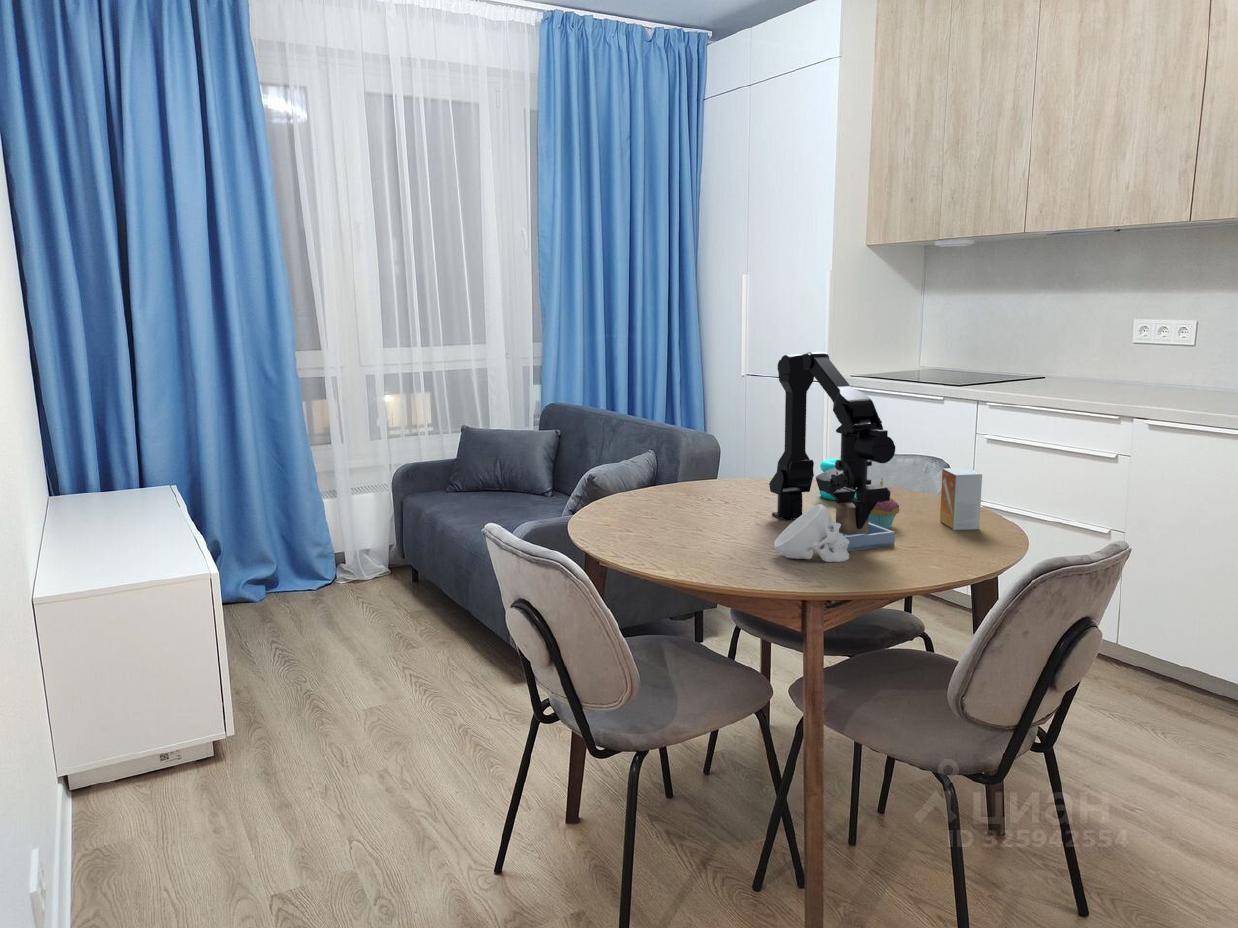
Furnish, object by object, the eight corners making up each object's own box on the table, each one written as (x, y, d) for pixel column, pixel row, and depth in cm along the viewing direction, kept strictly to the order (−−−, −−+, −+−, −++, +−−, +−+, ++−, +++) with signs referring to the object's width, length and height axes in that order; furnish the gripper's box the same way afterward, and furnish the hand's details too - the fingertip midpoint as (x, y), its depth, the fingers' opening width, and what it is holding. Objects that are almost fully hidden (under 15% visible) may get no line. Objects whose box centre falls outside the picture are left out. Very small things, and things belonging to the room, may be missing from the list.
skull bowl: (861, 559, 182) (828, 508, 181) (800, 593, 185) (768, 543, 184) (856, 544, 192) (825, 496, 191) (799, 576, 195) (768, 529, 194)
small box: (939, 521, 216) (941, 467, 213) (965, 521, 216) (968, 467, 213) (952, 530, 208) (955, 474, 205) (980, 529, 208) (983, 473, 206)
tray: (810, 539, 202) (810, 526, 202) (862, 532, 207) (862, 520, 206) (840, 552, 192) (841, 538, 191) (894, 545, 196) (894, 531, 196)
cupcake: (900, 531, 207) (902, 480, 205) (862, 530, 209) (863, 479, 207) (896, 522, 216) (898, 472, 213) (860, 521, 217) (861, 472, 215)
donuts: (850, 465, 234) (814, 462, 240) (849, 503, 236) (813, 498, 242) (864, 459, 242) (829, 456, 248) (863, 496, 244) (828, 492, 250)
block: (835, 529, 200) (836, 503, 199) (854, 527, 202) (855, 501, 201) (848, 535, 196) (849, 508, 195) (868, 532, 197) (869, 506, 196)
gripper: (798, 452, 202) (797, 520, 204) (847, 466, 184) (845, 540, 187) (841, 448, 205) (839, 515, 208) (893, 461, 188) (890, 534, 191)
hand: (852, 525), depth 199 cm, fingers closed on block, 5 cm apart
